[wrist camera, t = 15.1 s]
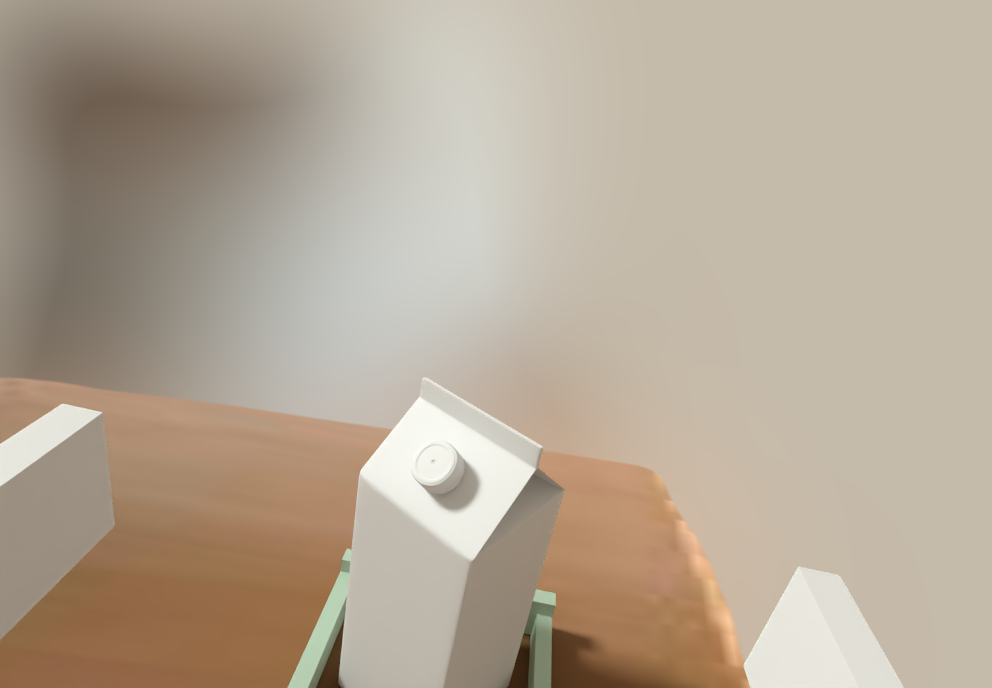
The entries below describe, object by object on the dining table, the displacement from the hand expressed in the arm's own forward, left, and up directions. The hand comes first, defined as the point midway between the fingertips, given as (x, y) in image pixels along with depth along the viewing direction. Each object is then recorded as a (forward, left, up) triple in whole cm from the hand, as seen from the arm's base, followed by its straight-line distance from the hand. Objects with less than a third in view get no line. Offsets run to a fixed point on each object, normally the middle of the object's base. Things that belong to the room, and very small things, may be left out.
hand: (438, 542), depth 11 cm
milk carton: (0, +14, -25) cm, 28 cm away
